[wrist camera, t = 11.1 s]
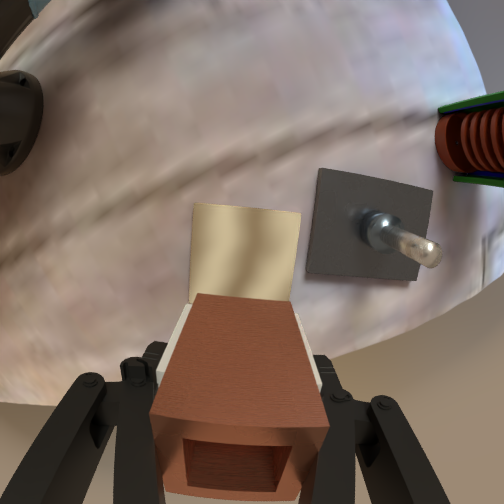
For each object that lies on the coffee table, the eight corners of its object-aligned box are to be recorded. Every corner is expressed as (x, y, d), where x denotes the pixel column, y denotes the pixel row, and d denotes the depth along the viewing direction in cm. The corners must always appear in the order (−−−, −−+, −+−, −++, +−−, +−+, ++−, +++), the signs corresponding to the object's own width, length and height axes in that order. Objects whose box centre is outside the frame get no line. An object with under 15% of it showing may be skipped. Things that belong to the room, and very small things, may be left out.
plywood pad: (190, 299, 33) (189, 303, 32) (195, 202, 30) (194, 203, 29) (285, 308, 33) (287, 312, 32) (299, 212, 31) (301, 214, 30)
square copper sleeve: (195, 367, 17) (165, 491, 8) (197, 292, 15) (149, 412, 7) (277, 374, 17) (294, 500, 8) (290, 301, 16) (330, 426, 7)
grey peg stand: (305, 268, 32) (337, 320, 20) (318, 168, 30) (363, 164, 17) (410, 277, 33) (469, 319, 21) (426, 189, 30) (497, 201, 18)
